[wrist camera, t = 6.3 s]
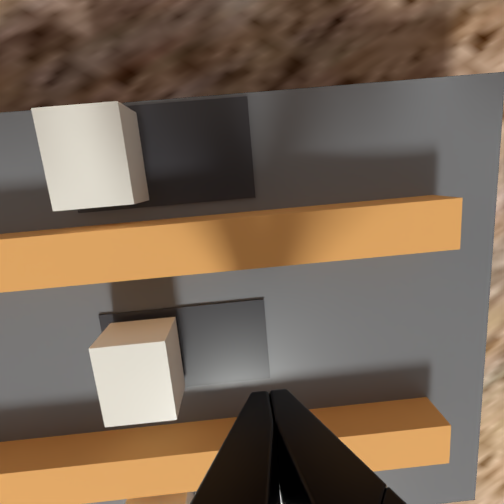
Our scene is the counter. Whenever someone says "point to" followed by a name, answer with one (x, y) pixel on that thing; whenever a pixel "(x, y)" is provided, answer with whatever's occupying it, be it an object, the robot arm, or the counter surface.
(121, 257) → the orange bar
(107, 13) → the counter surface
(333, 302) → the breaker panel
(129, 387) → the block
